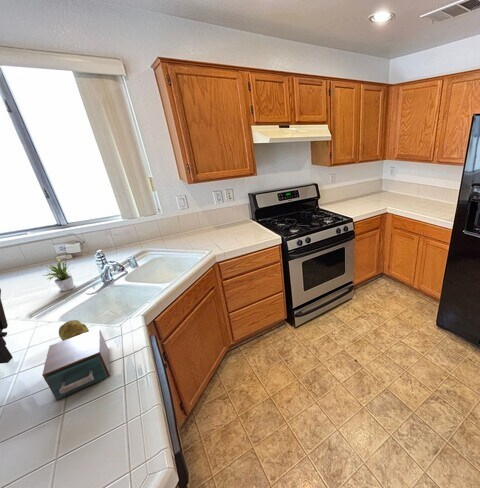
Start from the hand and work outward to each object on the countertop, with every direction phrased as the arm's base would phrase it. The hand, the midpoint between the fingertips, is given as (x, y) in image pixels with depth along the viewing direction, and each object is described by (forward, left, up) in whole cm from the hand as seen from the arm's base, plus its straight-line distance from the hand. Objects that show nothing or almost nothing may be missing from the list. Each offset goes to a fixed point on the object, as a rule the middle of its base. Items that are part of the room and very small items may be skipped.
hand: (2, 360), depth 61 cm
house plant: (-45, +92, -23) cm, 105 cm away
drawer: (+2, +15, -21) cm, 26 cm away
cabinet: (0, +19, -22) cm, 29 cm away
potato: (-11, +37, -23) cm, 44 cm away
